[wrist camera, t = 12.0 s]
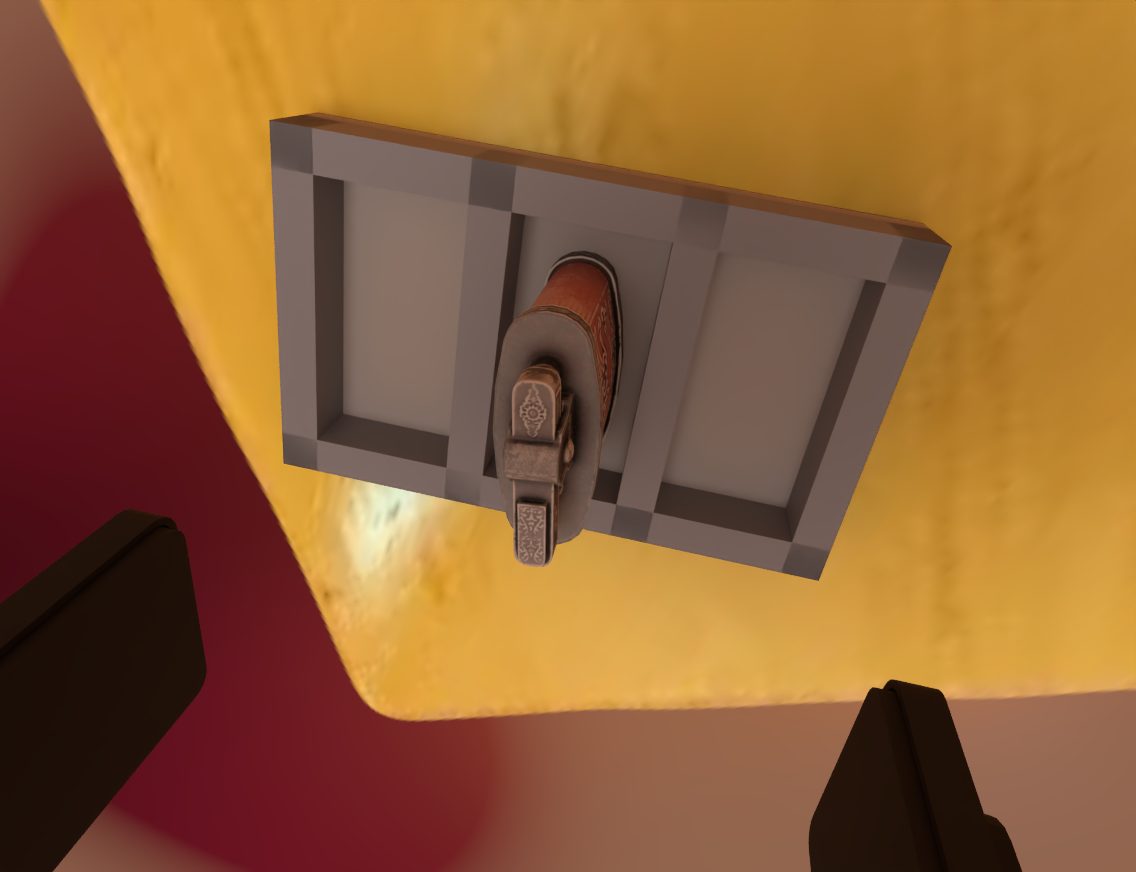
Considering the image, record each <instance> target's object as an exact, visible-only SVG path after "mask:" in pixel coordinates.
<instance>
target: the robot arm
mask: <svg viewBox="0 0 1136 872" xmlns="http://www.w3.org/2000/svg"><path fill="white" fill-rule="evenodd" d="M206 672H207V670H206V661H205V655H204V649H203V643H202V637H201V631H200V624H199V618H198V613H197V606H196V600H195V594H194V588H193V582H192V576H191V570H190V564H189V557H188V551H187V545H186V540H185V536H184V534H183V533H182V532H181V531H178V529H177V526H176V523H175V522H174V521H173V520H172V519H171V518H168V517H164V516H160V515H155V514H151V513H146V512H142V511H137V510H133V509H129V510H124V511H122V512H120V513H119V514H117V515H116V516H114V517H113V518H112V519H111V520H109V521H108V522H106V523H105V524H104V525H103V526H101V527H100V528H99V529H97V530H96V531H95V532H93V533H92V534H91V535H90V536H88V537H87V538H86V539H85V540H83V541H82V542H80V543H79V544H78V545H76V546H75V547H74V548H73V549H71V550H70V551H69V552H67V553H66V554H65V555H63V556H62V557H61V558H59V559H58V560H57V561H56V562H54V563H53V564H52V565H50V566H49V567H48V568H47V569H45V570H44V571H43V572H41V573H40V574H39V575H38V576H36V577H35V578H33V579H32V580H31V581H29V582H28V583H27V584H26V585H24V586H23V587H22V588H20V589H19V590H18V591H16V592H15V593H14V594H12V595H11V596H10V597H9V598H7V599H6V600H5V601H3V602H2V603H1V604H0V872H53V871H54V869H55V868H56V867H57V866H58V865H59V863H60V862H61V861H62V860H63V858H64V857H65V856H66V854H68V852H69V851H70V850H71V849H72V847H73V846H74V845H75V844H76V842H77V841H78V840H79V839H80V838H81V836H82V835H83V834H84V833H85V832H86V830H87V829H88V828H89V827H90V825H91V824H92V823H93V822H94V821H95V819H96V818H97V817H98V816H99V814H100V813H101V812H102V811H103V810H104V808H105V807H106V806H107V804H108V803H109V802H110V801H111V800H112V799H113V797H114V796H115V795H116V794H117V792H118V791H119V790H120V789H121V788H122V786H123V785H124V784H125V783H126V781H127V780H128V779H129V778H130V776H131V775H132V774H133V773H134V772H135V770H136V769H137V768H138V767H139V765H140V764H141V763H142V762H143V761H144V759H145V758H146V757H147V756H148V755H149V753H150V752H151V751H152V750H153V749H154V747H155V746H156V745H157V744H158V742H159V741H160V740H161V739H162V737H163V736H164V735H165V734H166V733H167V731H168V730H169V729H170V728H171V726H172V725H173V724H174V723H175V722H176V720H177V719H178V718H179V717H180V716H181V714H182V713H183V712H184V711H185V709H186V708H187V707H188V706H189V705H190V703H191V702H192V701H193V699H194V698H195V697H196V696H197V694H198V693H199V692H200V690H201V688H202V686H203V684H204V681H205V678H206ZM809 855H810V865H811V872H1022V870H1021V867H1020V864H1019V862H1018V859H1017V856H1016V853H1015V850H1014V848H1013V845H1012V842H1011V840H1010V838H1009V836H1008V833H1007V831H1006V829H1005V827H1004V826H1003V825H1002V824H1001V823H1000V822H999V820H997V818H994V817H992V816H990V815H986V814H984V813H983V809H982V806H981V803H980V800H979V797H978V795H977V792H976V789H975V786H974V783H973V780H972V777H971V773H970V770H969V767H968V764H967V761H966V758H965V756H964V752H963V749H962V747H961V743H960V740H959V738H958V734H957V731H956V728H955V725H954V722H953V719H952V716H951V713H950V710H949V708H948V704H947V701H946V699H945V697H944V695H943V693H942V692H941V691H940V690H938V689H934V688H929V687H925V686H920V685H916V684H911V683H907V682H902V681H898V680H889V681H888V682H887V683H886V685H885V686H884V688H883V689H879V688H874V687H873V688H871V689H870V690H869V692H868V694H867V696H866V698H865V700H864V703H863V705H862V707H861V709H860V712H859V714H858V716H857V718H856V721H855V723H854V725H853V727H852V730H851V732H850V734H849V736H848V739H847V741H846V743H845V746H844V748H843V750H842V752H841V754H840V757H839V759H838V761H837V763H836V766H835V768H834V770H833V772H832V775H831V777H830V779H829V782H828V784H827V786H826V788H825V790H824V793H823V795H822V797H821V799H820V801H819V804H818V806H817V808H816V811H815V813H814V815H813V818H812V820H811V825H810V831H809Z"/></svg>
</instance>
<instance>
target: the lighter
mask: <svg viewBox="0 0 1136 872" xmlns="http://www.w3.org/2000/svg"><path fill="white" fill-rule="evenodd" d="M623 356H624V352H623V312H622V305H621V298H620V291H619V283H618V277H617V274H616V271H615V269H614V267H613V266H612V264H611V263H610V262H609V261H608V260H607V259H606V258H604V257H602V256H601V255H599V254H597V253H594V252H589V251H585V250H584V251H573V252H570V253H568V254H566V255H563V256H562V257H561V258H559V259H558V260H557V261H556V262H555V263H554V264H553V266H552V267H551V269H550V271H549V273H548V275H547V277H546V280H545V285H544V289H543V290H542V292H541V293H540V295H539V296H538V297H537V299H536V300H535V302H534V303H533V305H532V306H531V308H530V309H528V310H525V311H523V312H522V313H521V314H520V315H519V316H518V317H517V318H516V319H515V320H514V321H513V323H512V324H511V325H510V327H509V328H508V331H507V333H506V335H505V338H504V341H503V346H502V352H501V357H500V363H499V368H498V373H497V379H496V384H495V400H494V419H493V439H494V449H495V459H496V468H497V477H498V482H499V486H500V490H501V494H502V499H503V503H504V507H505V511H506V516H507V518H508V521H509V523H510V525H511V527H512V528H513V529H514V554H515V557H516V559H517V560H518V561H519V562H520V563H522V564H524V565H528V566H536V567H544V566H546V565H548V564H549V563H550V562H551V560H552V557H553V554H554V550H555V547H556V544H561V543H565V542H568V541H571V540H572V539H573V538H575V537H576V536H578V535H579V534H580V532H581V530H582V529H583V527H584V525H585V521H586V517H587V514H588V510H589V507H590V503H591V499H592V496H593V492H594V488H595V485H596V481H597V477H598V470H599V462H600V455H601V447H602V442H603V441H604V439H605V437H606V436H607V433H608V429H609V426H610V422H611V418H612V415H613V411H614V408H615V404H616V400H617V396H618V392H619V385H620V378H621V370H622V363H623Z"/></svg>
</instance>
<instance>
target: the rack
mask: <svg viewBox="0 0 1136 872" xmlns="http://www.w3.org/2000/svg"><path fill="white" fill-rule="evenodd" d="M270 145H271V169H272V193H273V217H274V241H275V266H276V290H277V314H278V338H279V363H280V387H281V411H282V435H283V460H284V464H289V465H293V466H298V467H302V468H307V469H312V470H316V471H321V472H325V473H330V474H334V475H339V476H343V477H348V478H353V479H357V480H362V481H366V482H371V483H375V484H380V485H384V486H389V487H394V488H398V489H403V490H407V491H412V492H416V493H421V494H426V495H430V496H435V497H439V498H444V499H448V500H453V501H457V502H462V503H467V504H471V505H476V506H480V507H485V508H489V509H494V510H498V511H503V512H506V511H505V507H504V503H503V499H502V494H501V490H500V486H499V482H498V477H497V468H496V459H495V449H494V439H493V419H494V400H495V384H496V379H497V373H498V368H499V363H500V357H501V352H502V346H503V341H504V338H505V335H506V333H507V331H508V328H509V327H510V325H511V324H512V323H513V321H514V320H515V319H516V318H517V317H518V316H519V315H520V314H521V313H522V312H523V311H525V310H528V309H530V308H531V306H532V305H533V303H534V302H535V300H536V299H537V297H538V296H539V295H540V293H541V292H542V290H543V289H544V285H545V280H546V277H547V275H548V273H549V271H550V269H551V267H552V266H553V264H554V263H555V262H556V261H557V260H558V259H559V258H561V257H562V256H563V255H566V254H568V253H570V252H573V251H584V250H585V251H589V252H594V253H597V254H599V255H601V256H602V257H604V258H606V259H607V260H608V261H609V262H610V263H611V264H612V266H613V267H614V269H615V271H616V274H617V277H618V283H619V291H620V298H621V305H622V312H623V352H624V356H623V363H622V370H621V378H620V385H619V392H618V396H617V400H616V404H615V408H614V411H613V415H612V418H611V422H610V426H609V429H608V433H607V436H606V437H605V439H604V441H603V442H602V447H601V455H600V462H599V470H598V477H597V481H596V485H595V488H594V492H593V496H592V499H591V503H590V507H589V510H588V514H587V517H586V521H585V525H584V527H583V529H585V530H590V531H594V532H599V533H603V534H608V535H612V536H617V537H622V538H626V539H631V540H635V541H640V542H644V543H649V544H653V545H658V546H663V547H667V548H672V549H676V550H681V551H685V552H690V553H695V554H699V555H704V556H708V557H713V558H717V559H722V560H726V561H731V562H736V563H740V564H745V565H749V566H754V567H758V568H763V569H767V570H772V571H777V572H781V573H786V574H790V575H795V576H799V577H804V578H809V579H813V580H818V581H819V578H820V576H821V573H822V571H823V568H824V566H825V563H826V561H827V558H828V556H829V553H830V551H831V548H832V546H833V543H834V541H835V538H836V536H837V533H838V531H839V528H840V526H841V523H842V521H843V518H844V516H845V513H846V510H847V508H848V505H849V503H850V500H851V498H852V495H853V493H854V490H855V488H856V485H857V483H858V480H859V478H860V475H861V473H862V470H863V468H864V465H865V463H866V460H867V458H868V455H869V453H870V450H871V448H872V445H873V443H874V440H875V438H876V435H877V433H878V430H879V428H880V425H881V423H882V420H883V418H884V415H885V413H886V410H887V408H888V405H889V403H890V400H891V398H892V395H893V392H894V390H895V387H896V385H897V382H898V380H899V377H900V375H901V372H902V370H903V367H904V365H905V362H906V360H907V357H908V355H909V352H910V350H911V347H912V345H913V342H914V340H915V337H916V335H917V332H918V330H919V327H920V325H921V322H922V320H923V317H924V315H925V312H926V310H927V307H928V305H929V302H930V300H931V297H932V295H933V292H934V290H935V287H936V285H937V282H938V280H939V277H940V275H941V272H942V269H943V267H944V264H945V262H946V259H947V257H948V254H949V252H950V249H951V247H952V246H951V245H950V244H948V243H947V242H946V241H945V240H943V239H942V238H941V237H940V236H938V235H937V234H936V233H934V232H933V231H932V230H931V229H929V228H928V227H927V226H925V225H924V224H923V223H918V222H912V221H907V220H901V219H896V218H890V217H885V216H879V215H874V214H869V213H863V212H858V211H852V210H847V209H841V208H836V207H830V206H825V205H819V204H814V203H808V202H803V201H798V200H792V199H787V198H781V197H776V196H770V195H765V194H759V193H754V192H748V191H743V190H737V189H732V188H726V187H721V186H716V185H710V184H705V183H699V182H694V181H688V180H683V179H677V178H672V177H666V176H661V175H655V174H650V173H644V172H639V171H634V170H628V169H623V168H617V167H612V166H606V165H601V164H595V163H590V162H584V161H579V160H573V159H568V158H562V157H557V156H552V155H546V154H541V153H535V152H530V151H524V150H519V149H513V148H508V147H502V146H497V145H491V144H486V143H480V142H475V141H470V140H464V139H459V138H453V137H448V136H442V135H437V134H431V133H426V132H420V131H415V130H409V129H404V128H398V127H393V126H388V125H382V124H377V123H371V122H366V121H360V120H355V119H349V118H344V117H338V116H333V115H327V114H322V113H312V114H305V115H299V116H293V117H286V118H280V119H274V120H270Z"/></svg>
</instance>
